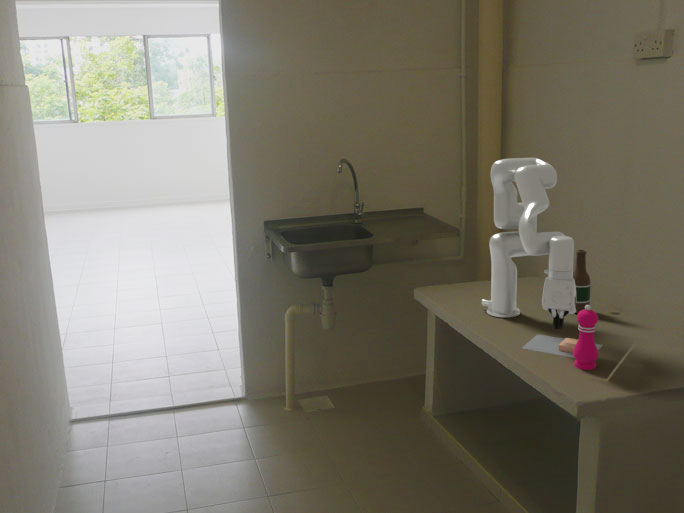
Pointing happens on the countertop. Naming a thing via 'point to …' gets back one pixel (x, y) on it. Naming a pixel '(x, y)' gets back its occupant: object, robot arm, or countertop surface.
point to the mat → (549, 345)
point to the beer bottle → (581, 281)
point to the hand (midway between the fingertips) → (558, 328)
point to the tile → (568, 345)
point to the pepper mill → (586, 340)
